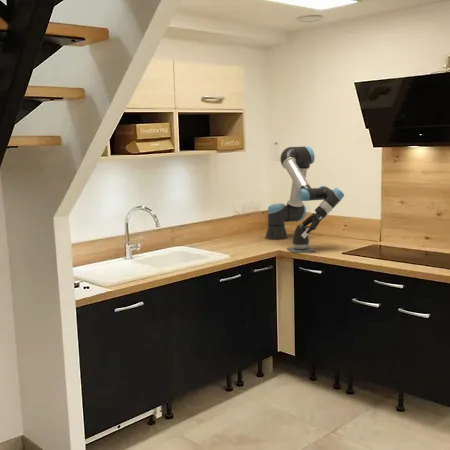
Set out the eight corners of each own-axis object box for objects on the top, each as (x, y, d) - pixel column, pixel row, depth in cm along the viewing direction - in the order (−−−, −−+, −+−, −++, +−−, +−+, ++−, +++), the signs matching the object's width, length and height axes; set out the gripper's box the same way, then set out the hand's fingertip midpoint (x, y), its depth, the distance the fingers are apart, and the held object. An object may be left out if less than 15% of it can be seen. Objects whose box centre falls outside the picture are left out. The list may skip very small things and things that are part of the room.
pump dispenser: (309, 250, 350) (309, 225, 348) (291, 250, 352) (291, 225, 350) (310, 247, 360) (309, 223, 357) (293, 247, 362) (293, 223, 359)
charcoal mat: (287, 249, 361) (287, 247, 361) (308, 248, 363) (308, 246, 363) (292, 253, 348) (292, 251, 348) (315, 252, 351) (315, 250, 350)
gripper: (334, 216, 343) (309, 242, 343) (321, 211, 367) (298, 235, 367) (325, 207, 341) (301, 234, 341) (313, 203, 365) (290, 228, 366)
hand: (299, 235), depth 354 cm, fingers open, 13 cm apart
